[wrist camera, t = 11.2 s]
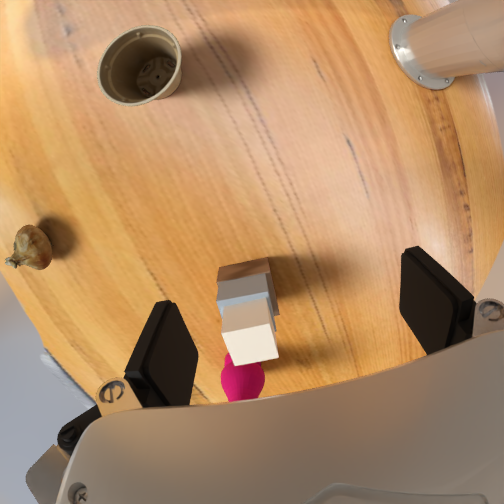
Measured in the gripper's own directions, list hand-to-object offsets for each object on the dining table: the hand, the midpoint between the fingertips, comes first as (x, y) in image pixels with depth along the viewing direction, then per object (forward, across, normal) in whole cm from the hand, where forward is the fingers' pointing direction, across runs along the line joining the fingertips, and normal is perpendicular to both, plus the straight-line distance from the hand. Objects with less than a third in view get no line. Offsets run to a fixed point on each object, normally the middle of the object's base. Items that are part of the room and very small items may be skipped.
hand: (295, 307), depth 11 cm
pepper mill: (+27, +10, +29) cm, 41 cm away
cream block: (+18, +5, +14) cm, 24 cm away
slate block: (+23, +6, +14) cm, 27 cm away
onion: (+27, +37, -1) cm, 46 cm away
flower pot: (+28, +10, -17) cm, 34 cm away
